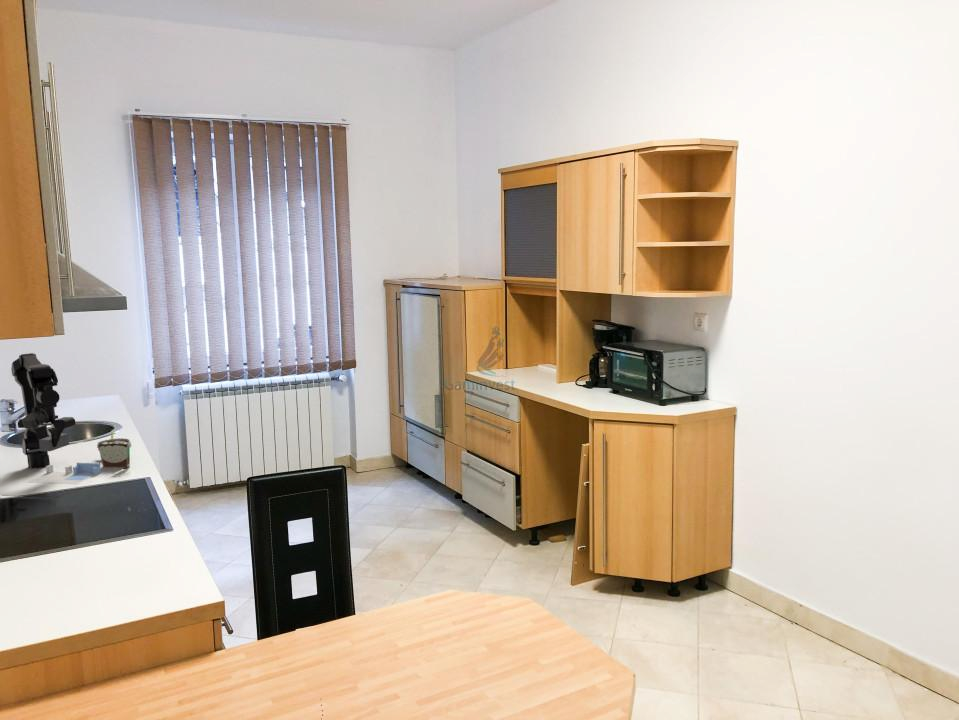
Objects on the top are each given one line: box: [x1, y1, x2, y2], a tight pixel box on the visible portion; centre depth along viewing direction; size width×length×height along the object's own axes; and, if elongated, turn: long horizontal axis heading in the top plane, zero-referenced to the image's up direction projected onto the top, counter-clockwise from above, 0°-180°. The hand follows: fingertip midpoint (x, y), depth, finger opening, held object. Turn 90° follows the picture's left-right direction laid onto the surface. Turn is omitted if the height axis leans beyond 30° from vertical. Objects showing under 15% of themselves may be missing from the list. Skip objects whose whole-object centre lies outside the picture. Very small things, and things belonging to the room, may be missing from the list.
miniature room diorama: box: [26, 462, 102, 485], centre depth 270 cm, size 20×13×4 cm, turn 79°
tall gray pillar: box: [39, 433, 70, 452], centre depth 269 cm, size 4×9×4 cm, turn 168°
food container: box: [96, 437, 132, 470], centre depth 284 cm, size 12×6×10 cm, turn 84°
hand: (49, 446), depth 267 cm, fingers closed on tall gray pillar, 4 cm apart
